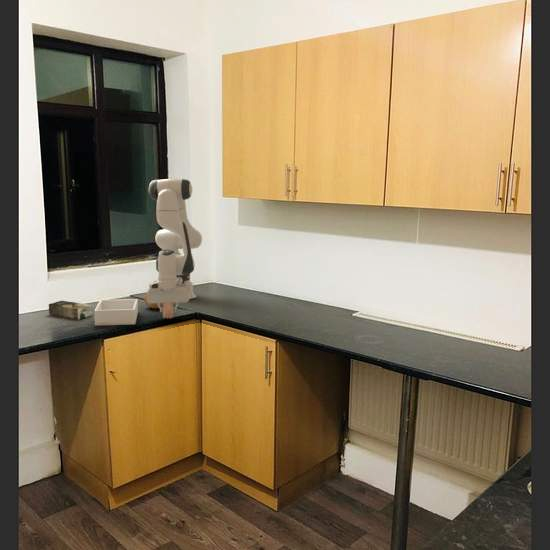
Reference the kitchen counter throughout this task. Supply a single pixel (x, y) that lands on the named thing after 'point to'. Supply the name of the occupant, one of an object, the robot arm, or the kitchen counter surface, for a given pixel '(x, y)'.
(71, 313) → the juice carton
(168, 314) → the wooden block
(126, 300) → the bin
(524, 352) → the kitchen counter surface
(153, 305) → the potato
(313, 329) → the kitchen counter surface
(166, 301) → the robot arm
